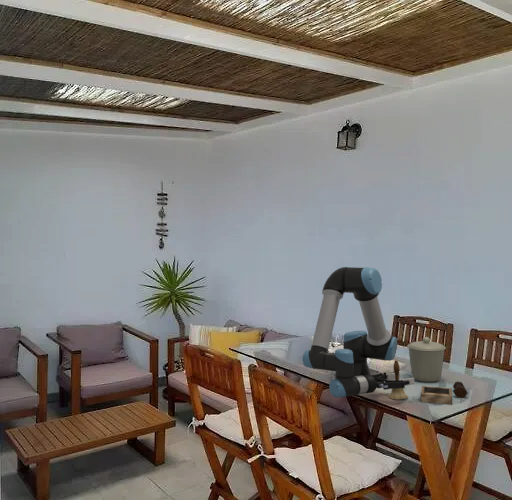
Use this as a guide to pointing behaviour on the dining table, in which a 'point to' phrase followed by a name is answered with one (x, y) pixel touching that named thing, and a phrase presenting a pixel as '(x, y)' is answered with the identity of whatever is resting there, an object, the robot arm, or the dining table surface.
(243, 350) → the dining table surface
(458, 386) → the bolt
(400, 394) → the hand bell
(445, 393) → the square tray
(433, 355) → the canister
